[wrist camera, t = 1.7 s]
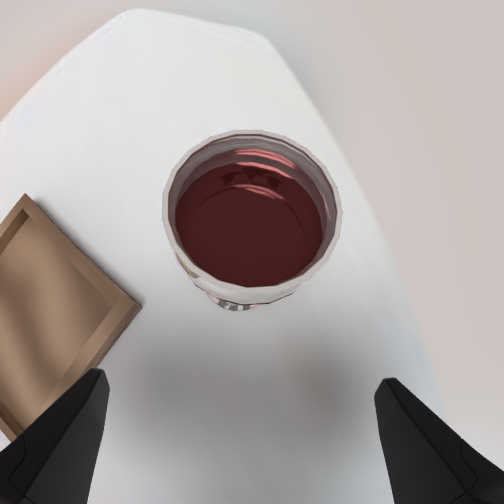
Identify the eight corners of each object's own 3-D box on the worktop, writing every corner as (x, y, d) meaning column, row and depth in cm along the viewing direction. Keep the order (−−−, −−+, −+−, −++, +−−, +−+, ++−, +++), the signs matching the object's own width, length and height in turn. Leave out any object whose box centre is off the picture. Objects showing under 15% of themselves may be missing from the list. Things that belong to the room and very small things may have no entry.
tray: (37, 451, 17) (24, 457, 15) (-50, 334, 18) (-63, 331, 16) (142, 307, 21) (134, 303, 20) (35, 202, 23) (25, 193, 21)
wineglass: (233, 214, 24) (244, 103, 13) (302, 272, 23) (374, 200, 12) (170, 279, 22) (122, 209, 11) (242, 343, 21) (267, 338, 10)
